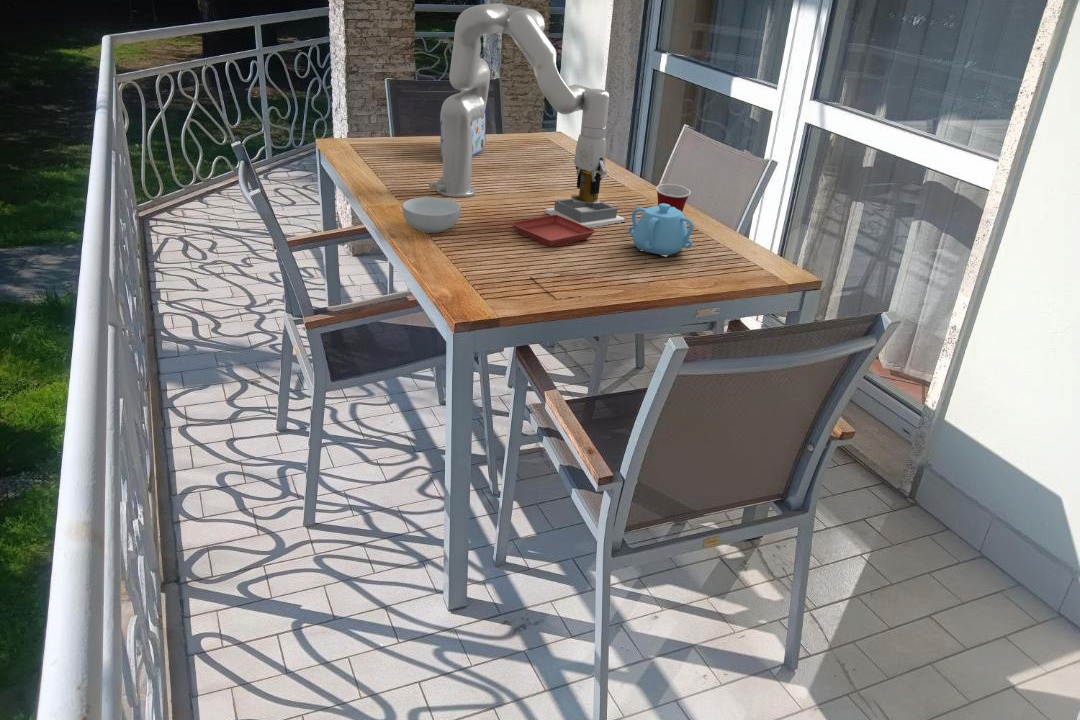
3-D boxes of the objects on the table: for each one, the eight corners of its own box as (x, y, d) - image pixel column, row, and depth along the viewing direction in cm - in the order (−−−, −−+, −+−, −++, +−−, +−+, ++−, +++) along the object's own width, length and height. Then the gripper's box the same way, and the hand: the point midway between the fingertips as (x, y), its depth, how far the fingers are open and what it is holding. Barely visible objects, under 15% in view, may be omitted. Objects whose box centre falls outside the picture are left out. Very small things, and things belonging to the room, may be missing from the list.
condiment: (600, 203, 267) (605, 165, 262) (574, 202, 266) (577, 164, 260) (596, 196, 274) (600, 159, 268) (570, 195, 272) (573, 158, 267)
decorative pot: (693, 260, 243) (701, 214, 237) (638, 259, 241) (645, 212, 235) (676, 241, 258) (683, 197, 252) (624, 240, 255) (630, 195, 249)
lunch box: (461, 166, 317) (463, 104, 307) (435, 162, 320) (436, 101, 310) (488, 151, 341) (490, 93, 331) (463, 147, 343) (465, 90, 333)
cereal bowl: (396, 220, 256) (396, 197, 252) (451, 218, 261) (451, 195, 258) (410, 239, 242) (410, 215, 238) (467, 236, 247) (468, 212, 244)
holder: (578, 229, 261) (580, 216, 259) (545, 212, 274) (546, 199, 272) (624, 222, 270) (626, 209, 268) (590, 206, 283) (591, 193, 281)
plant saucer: (509, 233, 254) (510, 222, 253) (555, 224, 265) (556, 213, 264) (549, 251, 242) (550, 240, 241) (595, 241, 253) (596, 230, 252)
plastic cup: (656, 231, 265) (661, 193, 259) (646, 220, 274) (651, 183, 269) (690, 232, 267) (696, 194, 261) (679, 221, 276) (684, 184, 271)
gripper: (566, 126, 264) (561, 184, 272) (600, 139, 252) (594, 199, 260) (586, 125, 268) (580, 182, 276) (620, 137, 256) (614, 196, 264)
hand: (587, 190), depth 268 cm, fingers closed on condiment, 6 cm apart
